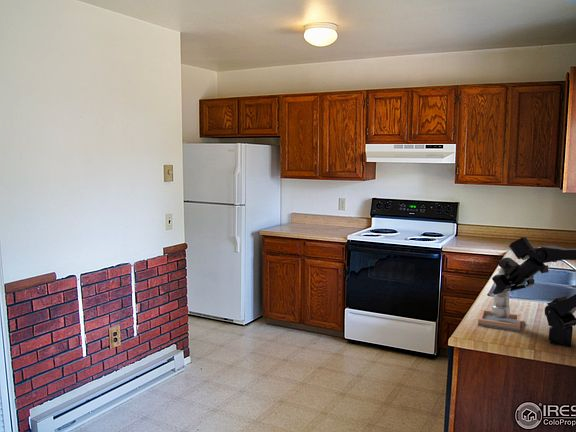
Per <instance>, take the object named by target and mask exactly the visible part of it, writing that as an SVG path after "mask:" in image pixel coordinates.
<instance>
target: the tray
mask: <svg viewBox="0 0 576 432" xmlns="http://www.w3.org/2000/svg"><path fill="white" fill-rule="evenodd" d="M477 326H480V327H488V328H492V329H493V328H495V329H500V330H506V331H514V332H520V331H521V314H518V313H511V312H510V315H509V317H508V318H496V317H494V316H493V315H492V312H491V310H489V309H483V308H482V309H480V312H479V315H478V319H477Z"/></svg>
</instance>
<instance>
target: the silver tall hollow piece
mask: <svg viewBox="0 0 576 432" xmlns="http://www.w3.org/2000/svg"><path fill="white" fill-rule="evenodd" d="M497 271H498V272H497V274H496V275H499V274H503V275H505V277H506V278H507V277H509V275H507V273H506V272H507V271H506V270H505V269H503V268H501V267H500V266H499V265H498V269H497ZM507 279H508V278H507ZM495 287H496V284H495V283H494V282H493V290H494V289H495ZM509 290H511V289H509ZM510 293H511V291H507V292H503V293H499V294H496V295H494V294H493V302H492V305H491V310H490V311H491V312H492V315H493V316H494V317H496V318H508V317H509V315H510V313H511V308H510V296H511V295H510Z"/></svg>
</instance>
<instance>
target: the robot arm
mask: <svg viewBox="0 0 576 432" xmlns="http://www.w3.org/2000/svg"><path fill="white" fill-rule="evenodd" d="M508 248H509V249H510V250H511V251H512V253H513V254H514V256H515V257H516V258H517V259H518V260H522V261H523V262H522V263H520V264H519V263H518V262H517V261H515V260H514V259H512V258H511V257H502V258H501V259H500V260H498V267H499V266H500V267H501V268H503V269H505V270H506V271H507V272H506V273H507V275H509V277H507V278H508V279H507V278H506V277H505V275H503V274H499V275H497V274H495V275H494V276H493V277H491V280H492V281H493V284H494V283H495V284H496V287H495V289H494V288H493V291H492V294H493V296H494V295H496V294H499V293H503V292H507V291H510V292H513V291H518V290H522V289H526V288H529V287H532V286H534V285H535V279H534V278H535V277H534V276H535V275H536V274H538V273H539V272H540V273H541V274H547V273H549V265H547V264H546V263H552V262H553V263H554V262H559V261H576V248H566V247H565V248H564V247H561V246H557V245H545V246H543V245H542V246H538V247H533V245H532V244H531V243H530V242H529V240H528V239H527V237H526V236H522V237H520V238H518V239H517V240H514V241H512V242H511V243H510V244H509V246H508ZM509 289H511V290H509ZM546 304H547V305H546V306H545V307H544V315H545V318H546V321H547V324H548V325H547V326H549V329H548V337H547V338H548V341H549V343H550V344H551V345H555V346H560V347H561V346H562V347H567V348H572V347H573V344H572V341H573V330H574V329H573V328H574V326H576V316H575V315H574V313H575V312H576V293H575V294H573V295H571V296H570V297H568V298H567V296H560V297H556V298H555V299H553V300H552V301H550V302H546Z"/></svg>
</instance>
